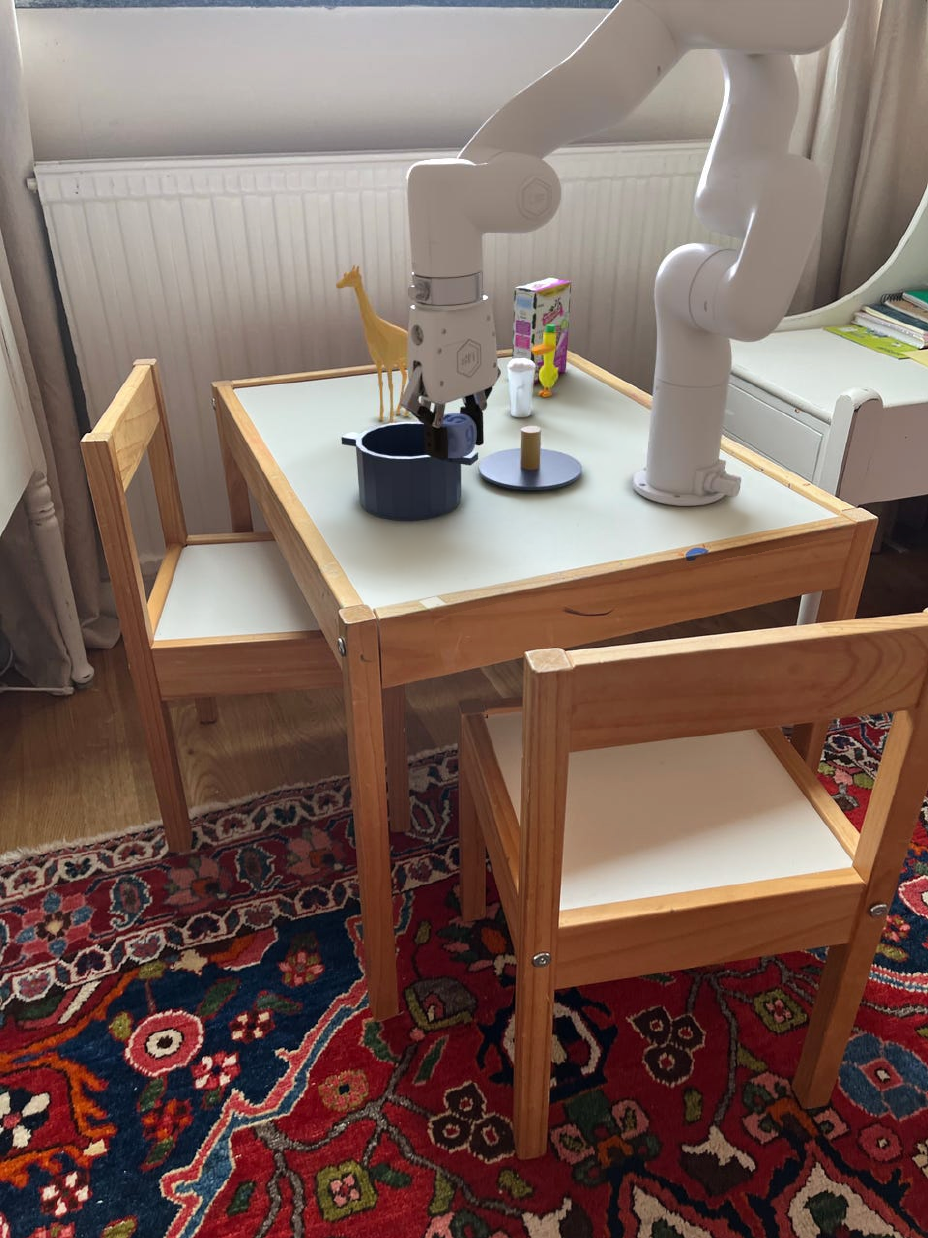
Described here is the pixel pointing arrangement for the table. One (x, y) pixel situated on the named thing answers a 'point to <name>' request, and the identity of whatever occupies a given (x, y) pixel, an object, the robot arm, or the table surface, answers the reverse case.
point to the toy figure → (547, 359)
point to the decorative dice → (460, 434)
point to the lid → (530, 465)
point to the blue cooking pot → (404, 473)
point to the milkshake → (521, 386)
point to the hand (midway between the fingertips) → (454, 447)
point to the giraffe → (380, 340)
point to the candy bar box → (541, 320)
